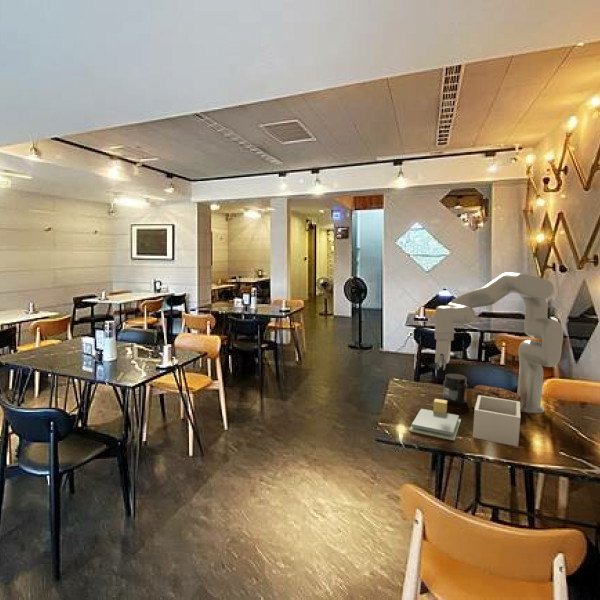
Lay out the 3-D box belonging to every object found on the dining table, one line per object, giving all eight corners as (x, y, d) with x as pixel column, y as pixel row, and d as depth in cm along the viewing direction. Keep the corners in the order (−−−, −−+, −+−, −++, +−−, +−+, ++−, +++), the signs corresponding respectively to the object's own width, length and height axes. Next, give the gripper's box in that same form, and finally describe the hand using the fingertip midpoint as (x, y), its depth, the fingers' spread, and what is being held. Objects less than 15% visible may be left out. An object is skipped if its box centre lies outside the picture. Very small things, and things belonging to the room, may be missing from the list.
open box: (476, 420, 173) (478, 395, 172) (517, 427, 166) (519, 401, 165) (472, 437, 157) (474, 409, 156) (518, 446, 150) (520, 417, 149)
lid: (422, 411, 181) (423, 396, 180) (459, 418, 174) (460, 402, 173) (411, 429, 162) (412, 413, 161) (452, 437, 155) (453, 420, 154)
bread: (470, 408, 188) (471, 386, 186) (477, 401, 196) (478, 381, 195) (515, 418, 176) (517, 396, 175) (520, 411, 184) (522, 389, 183)
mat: (419, 412, 181) (419, 411, 180) (460, 420, 173) (461, 419, 173) (408, 431, 162) (408, 429, 162) (454, 440, 154) (454, 439, 154)
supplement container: (468, 399, 198) (469, 375, 196) (464, 406, 189) (465, 381, 187) (445, 395, 203) (446, 371, 202) (440, 402, 194) (441, 377, 193)
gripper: (438, 331, 181) (437, 368, 183) (431, 339, 165) (430, 380, 168) (456, 332, 177) (455, 371, 179) (450, 340, 162) (449, 382, 164)
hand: (442, 375), depth 173 cm, fingers open, 9 cm apart
